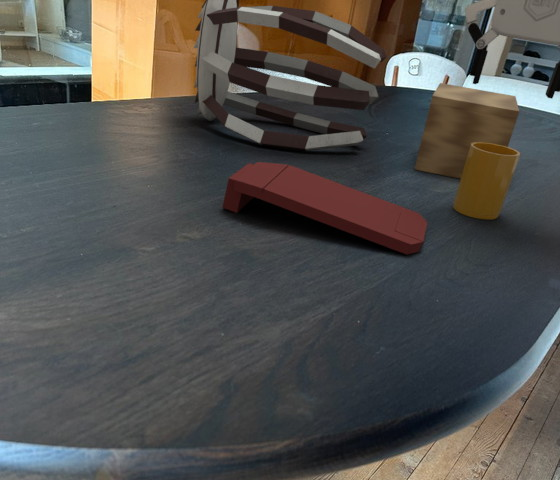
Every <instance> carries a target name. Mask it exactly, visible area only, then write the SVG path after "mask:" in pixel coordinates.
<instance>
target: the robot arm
mask: <svg viewBox="0 0 560 480" xmlns="http://www.w3.org/2000/svg"><path fill="white" fill-rule="evenodd" d="M492 8H494V10H493V14H492V18H491V24H490V29H488V30H487V31H486V32H485V33H484V34H483V32H482V30H481V28H480V26H479V23H478V15H479V13H482V12H484V11H486V10H490V9H492ZM464 12H465V19H466V25H467V31H468V33H469V35H470V37H471V39H472V41H473V43H474V45H475V47H476V51H475V55H474V58H473V61H472V64H471V68H470V72H469V76H472V77H473V80H472V84H473V85H477V84H479V83H480V79H481V75H482V73H483V69H484V66H485V62H486V59H487V56H488V46H489V44H490V43H492V42H493V41H494V40H495V39H497V37H499V36H503V37H507V38H511V39H517V40H523V41H529V42H534V43H541V44H547V45H552V46H557V49H558V52H559V53H560V0H479V1H476V2H473V3H470V4H468V5H466V7H465V9H464ZM556 92H557V93H560V60H559V61H558V62H556V63H555V65H554V69H553V71H552V74H551V77H550V79H549V82H548V85H547V88H546V91H545V96H546V97H547V98H548V99H552V100H553V98H554V96H555V93H556Z"/></svg>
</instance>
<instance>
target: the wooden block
mask: <svg viewBox="0 0 560 480" xmlns="http://www.w3.org/2000/svg"><path fill="white" fill-rule="evenodd" d="M519 114H520V109H519V105H518V101H517V96H516V95H511V94H506V93H499V92H494V91H489V90H483V89H478V88H471V87H466V86H459V85H453V84H450V83H443V82H439V84H438V86H437V87H436V89H435V90H434V92H433V94H432V96H431V99H430V104H429V107H428V112H427V117H426V120H425V124H424V128H423V131H422V137H421V140H420V145H419V148H418V152H417V157H416V161H415V165H414V170H415V171H419V172H424V173H429V174H433V175H434V174H435V175H440V176H444V177H449V178H454V179H461V176H462V172H463V169H464V166H465V162H466V159H467V155H468V152H469V149H470V145H471V143H474V142H485V143H492V144H498V145H502V146H506V147H509V144H510V142H511V138H512V135H513V132H514V129H515V126H516V124H517V120H518V117H519Z"/></svg>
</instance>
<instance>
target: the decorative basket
mask: <svg viewBox="0 0 560 480" xmlns="http://www.w3.org/2000/svg"><path fill="white" fill-rule="evenodd" d="M198 18H199V19H200V21H199V23H198V25H197V26H196V27H195V29H194V31H195V32H199V34H198V37H197V39H196V42H195V44H194V46H193V49H197V50H196V51H197V53H196V59H195V64H194V68H196V77H195V81H194V87H193V89H194V88H196V93H195V94H196V95H195V100H194V103H198V109H197V116H199V115H202V117H203V118H204V119H206V120H207V121H209V122H210V121H213V120H215V118H217V119H218V121H219V122H220V123H221V124H222V125H223V126H224V127H225V128H226V129H228V130H229V131H231V132H233V133H236V134H238V135H240V136H242V137H244V138H246V139H248V140H250V141H253V142H255V143H257V144H258V145H260V146H262V147H263V146H264V147H270V148H271V147H272V148H280V149H286V150H287V149H288V150H295V151H303V152H309V151H310V152H311V151H318V150H328V149H335V148H336V149H337V148H345V147H353V146H359V144H361V143H362V142H363V141H364V140H365V139H366V138H367V137H368V135H367V133H366V130H365V127H360V126H355V125H350V124H345V123H341V122H336V121H332V120H331V121H330V120H326V119H323V118H319V117H315V116H311V115H306V114H303V113H300V112H295V111H292V110H289V109H285V108H283V107H278V106H275V105H271V104H268V103H265V102H261V101H258V100H255V99H252V98H249V97H246V96H243V95H241V94H240V95H239V94H237V93H234V92H231V91H229V88H230V84H234V85H237V86H239V87H241V88H245V89H247V90H250V91H253V92H256V93H259V94H262V95H264V96H266V97H271V98H272V97H273V98H277V99H283V100H287V101H292V102H296V103H301V104H305V105H306V104H307V105H311V106H319V107H327V108H328V107H329V108H339V109H348V110H358V111H365V110H366V109H367V107H368V105H372V104H373V103H374V102H375V101H376V100H377V99H378V98H379V94H378V91H377V87H376V86H375V85H374V84H372V83H369V82H367V81H365V80H362V79H360V78H358V77H356V76H353V75H352V74H350V73H348V72H344V71H343V70H341V69H340V70H339V69H336V68H333V67H330V66H327V65H324V64H321V63H317V62H314V61H311V60H307V59H303V58H298V57H294V56H289V55H284V54H279V53H275V52H270V51H266V50H265V51H264V50H257V49H249V48H243V47H237V37H238V23H240V24H241V23H242V24H247V25H248V24H249V25H254V26H262V27H268V28H276V29H280V30H282V31H285V32H288V33H291V34H294V35H297V36H300V37H302V38H306V39H309V40H312V41H314V42H318V43H320V44H323V45H325V46H328V47H331V48H332V49H334V50H335V51H338V52H340V53H342V54H344V55H346V56H348V57H350V58H352V59H354V60H356V61H358V62H360V63H362V64H364V65H366V66H368V67H370V68H373V69H374V70H375V69H376V68H377V66H378V65H379V64H380V63H383V61H385V59H387V58H388V55H387V54H386V51H385V49H384V48H382V47H381V46H380V45H378V44H377V43H376V42H375V41H373V39H370V38H369V37H368V36H367V35H365V34H364V33H362V32H361V31H359V30H358V29H357V28H356V27H355V26H353V25H352V24H349V23H347V22H344V21H341V20H339V19H336V18H335V17H331V16H329V15H327V14H325V13H322V12H318V11H317V10H310V9H301V8H294V7H285V6H278V5H261V6H260V5H259V6H238V3H237V0H205V1H204V2H203V4H202V6H201V11H200V12H199V14H198V15H197V19H198ZM256 69H258V70H256ZM260 70H266V71H271V72H275V73H280V74H286V75H290V76H295V77H299V78H304V79H307V80H310V81H313V82H317V83H320V84H314V83H310V82H305V81H300V80H296V79H292V78H287V77H286V78H285V77H281V76H276V75H271V74H268V73H265V72H262V71H260ZM321 84H323V85H321ZM223 106H226V107H230V108H233V109H236V110H239V111H243V112H246V113H249V114H252V115H254V116H259V117H262V118H266V119H269V120H272V121H276V122H279V123H283V124H285V125H288V126H289V125H290V126H293V127H296V128H300V129H304V130H308V131H312V132H315V133H320V134H316V135H301V134H295V133H285V132H278V131H270V130H263V129H262V128H260V127H258V126H255V125H253V124H251V123H249V122H247V121H245V120H242V119H241V118H238V117H236V116H234V115H232V114H230V113H229V112H228V111H227V110H226V109H225V108H224V107H223Z"/></svg>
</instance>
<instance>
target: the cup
mask: <svg viewBox="0 0 560 480" xmlns="http://www.w3.org/2000/svg"><path fill="white" fill-rule="evenodd" d="M520 156H521V153H520V151H518V150H516V149H514V148H512V147H509V146H508V147H506V146H502V145H498V144H492V143H485V142H474V143H471V145H470V149H469V152H468V155H467V159H466V162H465V166H464V169H463V172H462V176H461V179H460V180H459V182H458V186H457V189H456V193H455V197H454V200H453V204H452V209H453V210H454V211H456V212H457V213H459V214H461V215H463V216H466V217H470V218H473V219H479V220H496V219H498V218H499V217H500V214H501V213H502V209H503V206H504V203H505V200H506V198H507V194H508V192H509V188H510V187H511V183H512V180H513V177H514V174H515V171H516V168H517V167H518V165H517V164H518V162H519V160H520Z"/></svg>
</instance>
